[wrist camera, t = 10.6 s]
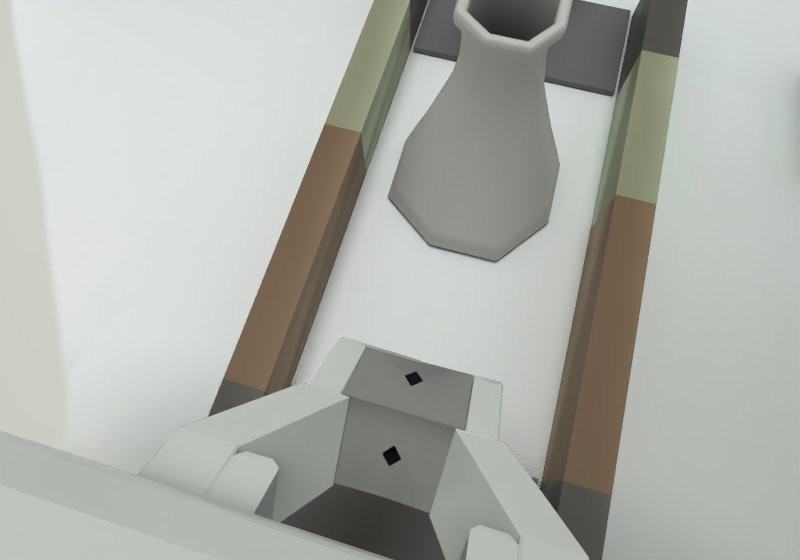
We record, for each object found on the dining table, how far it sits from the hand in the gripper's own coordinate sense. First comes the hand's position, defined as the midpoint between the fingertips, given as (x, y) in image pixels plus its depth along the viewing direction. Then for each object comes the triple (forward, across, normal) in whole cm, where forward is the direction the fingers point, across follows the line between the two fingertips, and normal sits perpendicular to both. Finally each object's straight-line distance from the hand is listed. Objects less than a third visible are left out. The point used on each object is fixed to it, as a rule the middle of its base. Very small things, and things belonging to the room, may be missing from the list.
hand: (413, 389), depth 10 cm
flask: (+16, 0, 0) cm, 16 cm away
